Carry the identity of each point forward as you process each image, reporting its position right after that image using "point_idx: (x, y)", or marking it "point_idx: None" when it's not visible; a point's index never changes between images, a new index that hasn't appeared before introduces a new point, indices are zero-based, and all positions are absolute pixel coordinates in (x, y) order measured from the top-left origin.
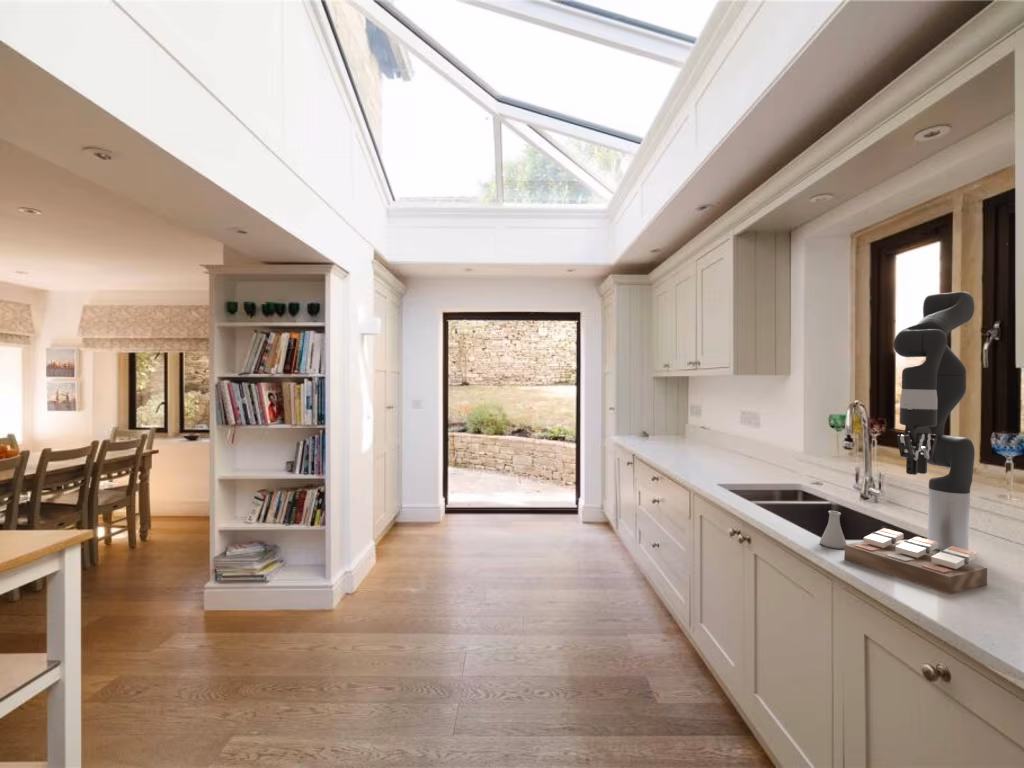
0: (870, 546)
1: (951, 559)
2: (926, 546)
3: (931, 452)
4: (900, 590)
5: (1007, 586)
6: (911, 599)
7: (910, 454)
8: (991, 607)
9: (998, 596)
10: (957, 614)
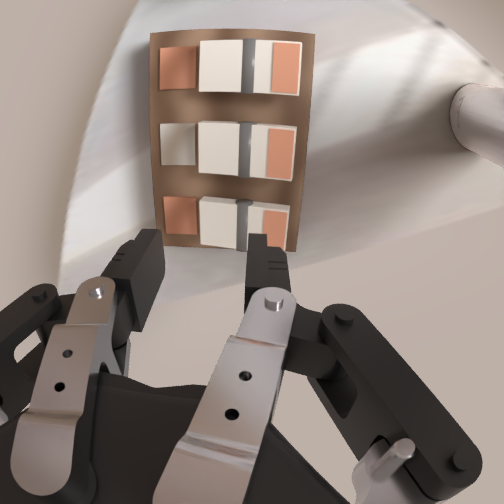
0: (191, 67)
1: (212, 233)
2: (242, 174)
3: (317, 388)
4: (103, 189)
5: (315, 253)
6: (87, 216)
7: (43, 353)
8: (176, 277)
9: (241, 265)
10: (103, 267)
